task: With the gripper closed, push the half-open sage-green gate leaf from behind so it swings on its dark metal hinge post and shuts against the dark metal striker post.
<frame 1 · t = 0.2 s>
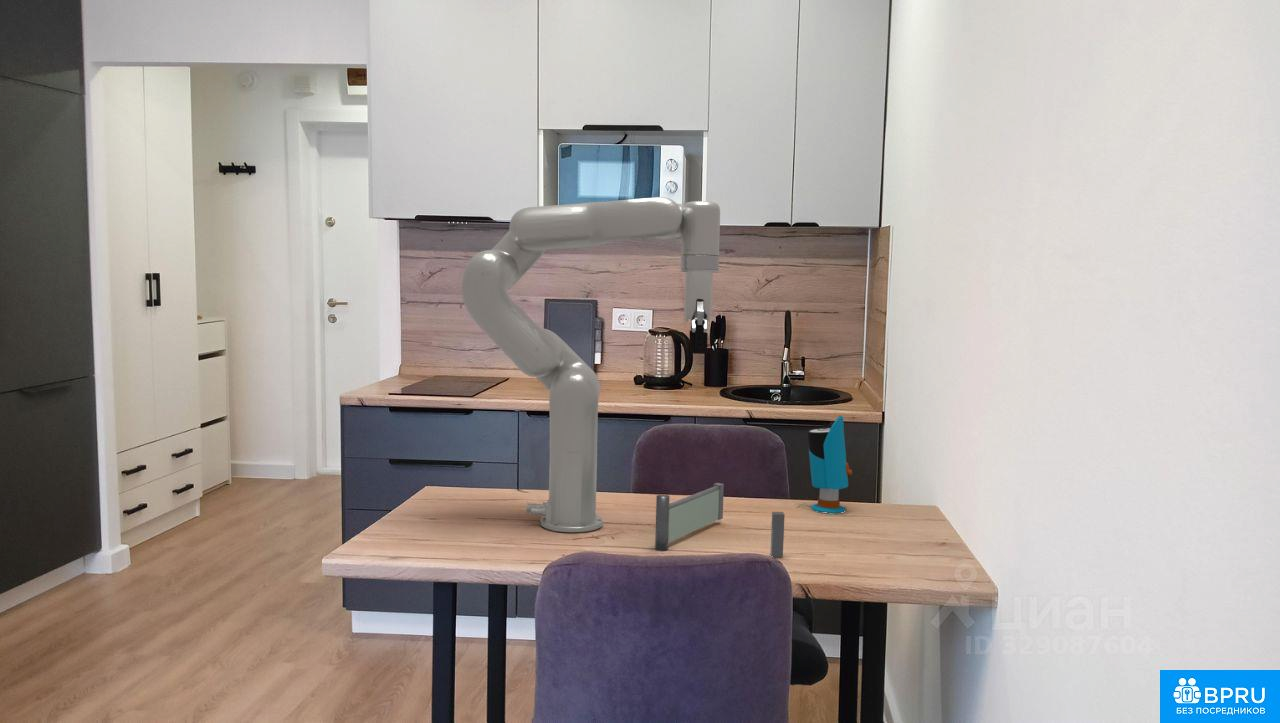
hand: (697, 351, 184), 36 cm above the table, tool pointing down, fingers open, 9 cm apart
gate: (694, 511, 182), point 5 cm above the table, hinge at 60.0°
gate frame: (661, 549, 171), on the table
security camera: (827, 510, 206), on the table
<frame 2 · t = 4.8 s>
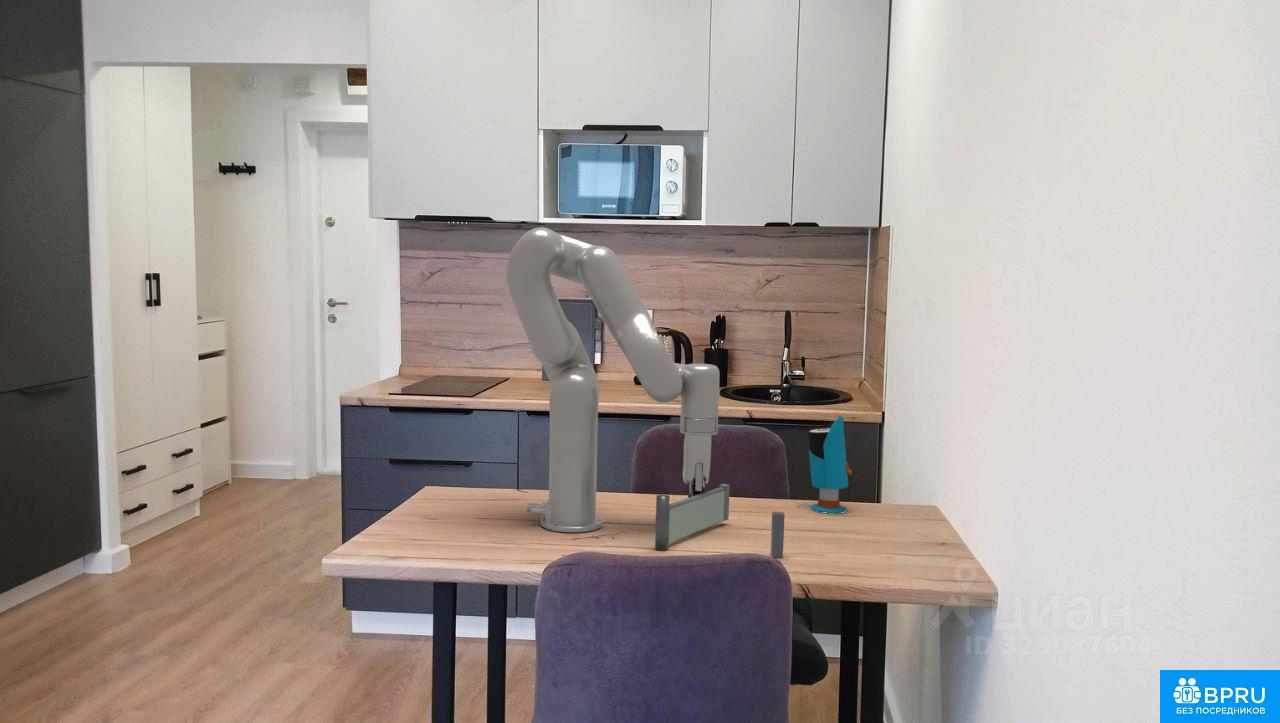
hand: (695, 515, 187), 3 cm above the table, tool pointing down, fingers closed
gate: (697, 511, 181), point 5 cm above the table, hinge at 56.7°
everything else where it was.
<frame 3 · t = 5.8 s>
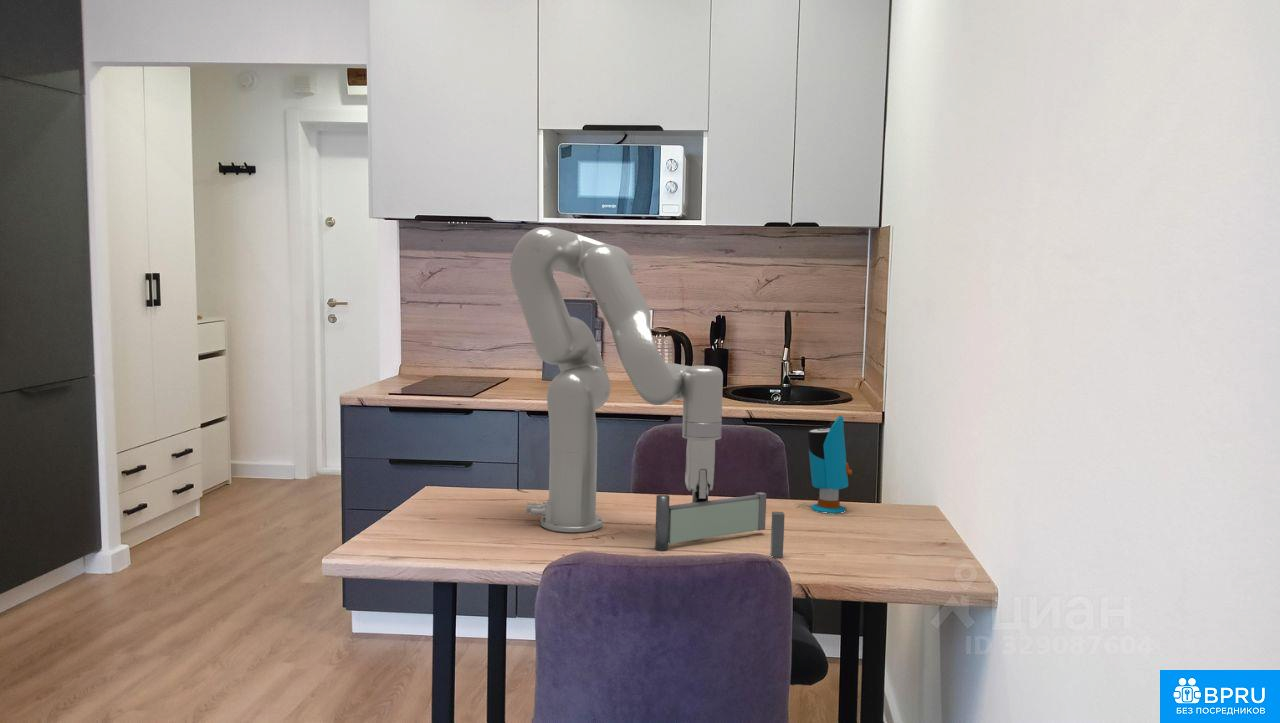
hand: (699, 523, 180), 3 cm above the table, tool pointing down, fingers closed
gate: (717, 517, 178), point 5 cm above the table, hinge at 33.2°, touching gripper
everything else where it was.
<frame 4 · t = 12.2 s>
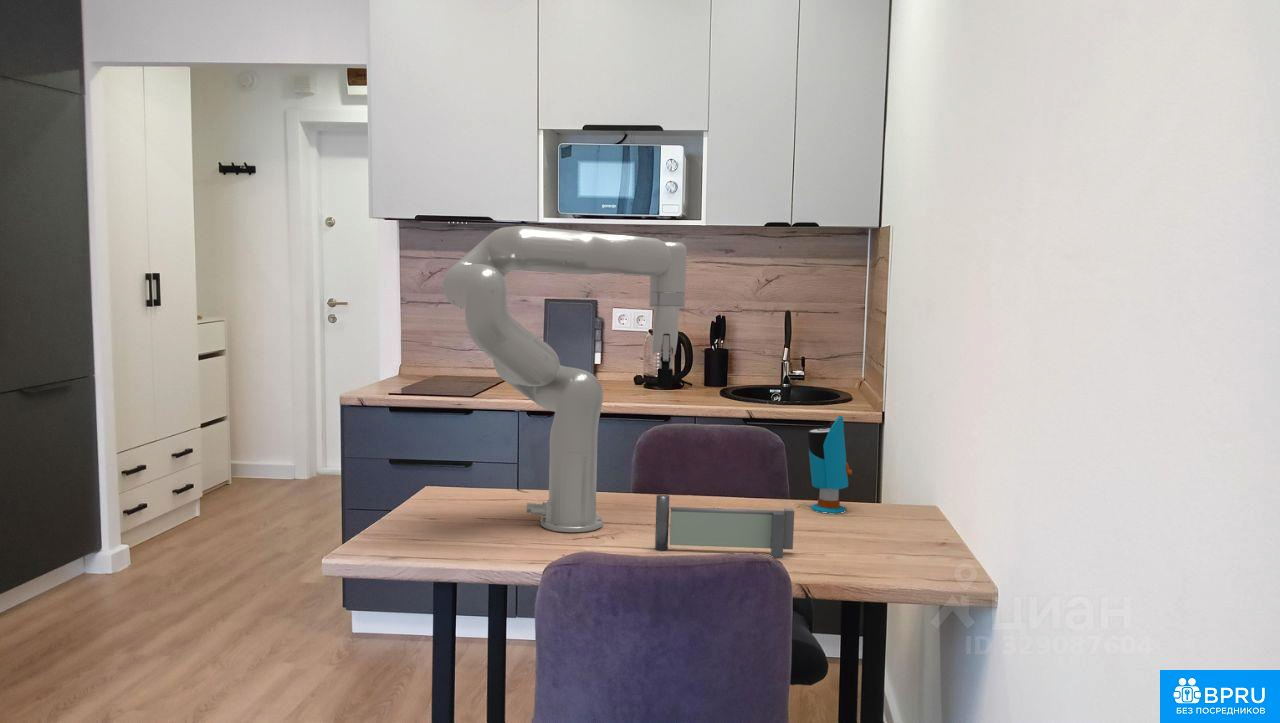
hand: (664, 387, 196), 27 cm above the table, tool pointing down, fingers closed
gate: (731, 527, 171), point 5 cm above the table, hinge at -0.3°
everything else where it was.
at the end: gate at +0° (first picture: +60°); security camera moved 0.2 cm from its start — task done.
